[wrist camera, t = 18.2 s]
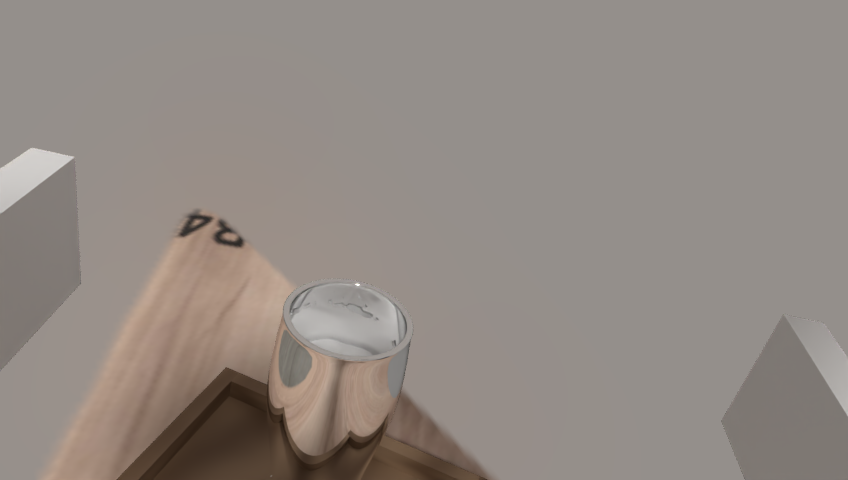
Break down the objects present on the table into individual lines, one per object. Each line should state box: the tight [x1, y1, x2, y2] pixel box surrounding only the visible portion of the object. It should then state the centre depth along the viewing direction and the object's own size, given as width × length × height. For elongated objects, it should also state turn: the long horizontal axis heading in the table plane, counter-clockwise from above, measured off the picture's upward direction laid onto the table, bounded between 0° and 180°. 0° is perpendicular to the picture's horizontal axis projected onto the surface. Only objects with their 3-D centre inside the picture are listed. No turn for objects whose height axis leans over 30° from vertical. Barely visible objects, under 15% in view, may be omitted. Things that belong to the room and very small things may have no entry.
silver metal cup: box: [266, 279, 413, 480], centre depth 38 cm, size 7×7×15 cm
